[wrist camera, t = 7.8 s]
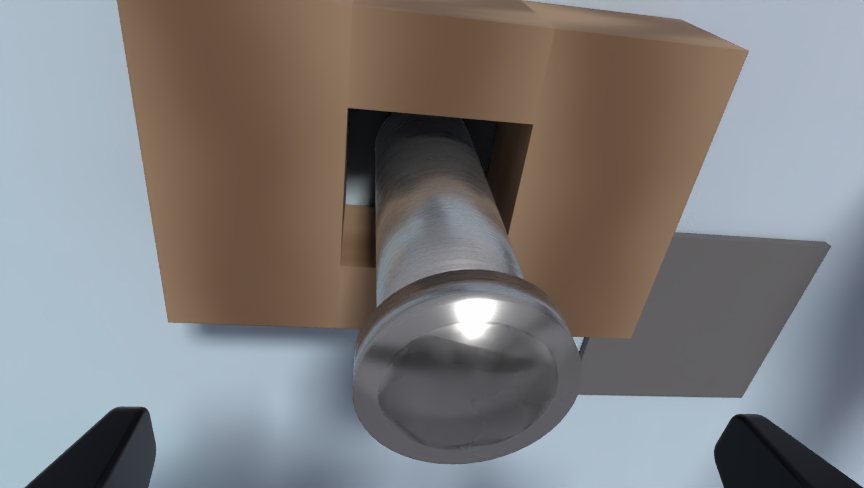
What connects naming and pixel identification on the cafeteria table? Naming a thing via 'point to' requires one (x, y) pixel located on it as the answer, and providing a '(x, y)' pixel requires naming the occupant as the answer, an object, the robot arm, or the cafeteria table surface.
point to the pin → (453, 310)
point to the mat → (705, 318)
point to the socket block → (417, 94)
